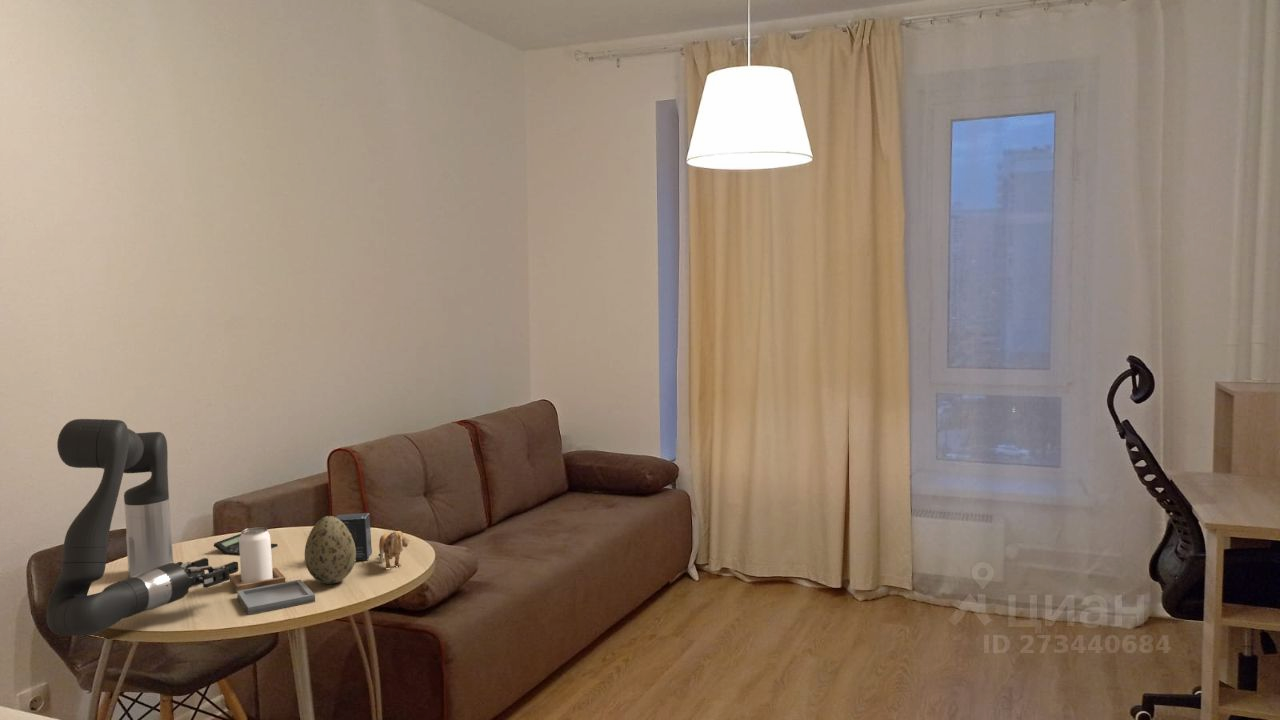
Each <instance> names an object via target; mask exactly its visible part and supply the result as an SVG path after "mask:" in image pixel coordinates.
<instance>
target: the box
mask: <svg viewBox="0 0 1280 720" xmlns="http://www.w3.org/2000/svg"><path fill="white" fill-rule="evenodd" d="M335 517H336V518H338V519H339V520H340V521H342V522H343V523H344V524H345V526H346V527H347V528H348V530H349V531H350V533H351V535H352V538H353V540H354V543H355V548H356V559H355V560H364V561H368V560H369V559H370V558H369V556H370V555H371V554H372V553H373V552H372V551H373V549H372V548H373V547H372V534H371V532H372V531H371V518H370V513H369V512H365V513H348V514H337V515H336V516H335ZM371 556H372V555H371ZM371 556H370V557H371ZM368 558H369V559H368ZM367 559H368V560H367Z"/></svg>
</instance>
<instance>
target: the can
mask: <svg viewBox="0 0 1280 720" xmlns="http://www.w3.org/2000/svg"><path fill="white" fill-rule="evenodd" d="M268 530H269V529H268V528H267V527H262V526H261V527H252V528H251V527H250V528H245V529H243V530H241V531H240V534H241V536H240V538H239V548H240V555H239V563H240V564H239V565H240V573H241V580H242V581H241V584H246V583H252V582H257V581H263V580H268V579H274V576H273V574H272V568H273V559H272V558H273V557H272V548H271V544H272V543H271V535H270V533H269V531H268Z"/></svg>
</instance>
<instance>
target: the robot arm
mask: <svg viewBox="0 0 1280 720" xmlns="http://www.w3.org/2000/svg"><path fill="white" fill-rule="evenodd" d="M57 452H58V455H59V458H60V459H61V461H62V462H63V463H64V464H65V465H66V466H68V467H71V468H77V469H78V468H79V469H82V468H83V469H84V468H85V469H103V474H102V476H101V480H100V483H99V485H98V487H97V489H96V490H95V493H94V494H93V495H92V496H91V498H90V500H89V501H88V502H87V503H86V504H85V506H84V507H83V508H82V509H81V511H80V512H79V513H78V514H77V516H76V517H75V518H74V520H72V522H71V524H70V525H69V527H68V529H67V531H66V534H65V537H64V542H63V547H62V548H63V549H62V557H61V566H60V567H61V568H60V572H59V575H58V578H57V580H56V582H55V585H54V587H53V589H52V592H51V595H50V598H49V600H48V602H47V603H48V604H47V606H46V614H45V615H46V616H45V617H46V624H47V626H48V628H49V630H50V631H51V632H52V633H53V634H55V635H58V636H61V637H62V636H65V637H66V636H67V637H69V636H71V637H72V636H73V637H74V636H77V637H78V636H79V637H80V636H81V637H82V636H91V635H94V634H98V633H100V632H103V631H105V630H107V629H109V628H111V627H112V626H114V625H115V624H117V623H119V622H120V621H122V620H124V619H127V618H130V617H133V616H135V615H138V614H141V613H143V612H147V611H152V610H155V609H157V608H160V607H164V606H165V605H169V604H170V603H171V604H172V603H173V602H175V601H178V600H179V601H180V599H183V598H184V597H185V596H186V595H187V594H188V591H189V589H191V588H197V587H198V586H201V585H202V586H203V587H202V588H210V587H213V586H215V585H218V584H221V583H224V582H227V581H230V579H229V575H234V574H236V573H237V572H238V571H239V563H238V561H231V562H229V563H226V564H223V565H219V566H212V565H210V564H209V558H207V557H204V558H203V557H202V558H200V559H198V560H194V561H187V562H186V561H185V562H182V561H178V562H176V563H175V562H174V552H173V539H172V521H171V520H172V519H171V509H170V508H171V507H170V492H169V477H168V476H169V474H168V472H169V471H168V457H169V456H168V442H167V438H166V436H165V434H164V433H163V432H160V431H148V432H135V431H133V430H132V429H130V428H128V425H127V424H126V422H124V421H123V420H121V419H102V418H101V419H100V418H78V419H73V420H70V421H68V422H67V423H65V425H64V426H63V427H62V429H60V431H59V434H58V437H57ZM139 473H140V474H141V473H142V474H143V473H151V475H150V477H149V478H148V479H147V480H146V481H145V482H143V483H141V484H138V485H135V486H132V487H131V488H129V489H127V490H126V491H125V492H124V493H123V502H124V516H125V528H126V529H125V530H126V531H125V532H126V534H125V540H126V553H127V554H126V555H127V556H126V557H127V568H128V575H129V578H125V579H122V580H119V581H116V582H114V583H111V584H110V585H107V586H106V587H105V588H104V589H103V590H102V591H100V592H97V593H93V594H89V590H90V587H91V585H92V584H93V583H95V582H97V581H99V580H101V579H102V578H103V577H104V574H105V571H106V565H107V564H106V562H107V555H108V547H109V546H108V545H109V537H110V530H111V526H112V525H111V524H112V522H113V516H114V513H115V512H114V511H115V508H116V504H117V501H118V497H119V493H120V489H121V485H122V480H123V477H124V474H139ZM205 571H207V572H205Z"/></svg>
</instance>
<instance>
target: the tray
mask: <svg viewBox="0 0 1280 720" xmlns="http://www.w3.org/2000/svg"><path fill="white" fill-rule="evenodd" d="M236 594H237V596H236V597H237V600H238V601H239V602H240V603H241V606H242V607H243V609H244V610H245V611H246V613H247V615H248V616H250V615H255V614H259V613H265V612H270V611H275V610H279V609H280V610H281V609H286V608H290V607H296V606H299V605H300V606H301V605H305V604H310V603H311V604H312V603H315V602H316V594H315V593H314V592H313V591H312V590H311V589H310V588H309V587H308V585H306V584H305V583H304V581H302V579H296V580H289V581H285V582H284V583H278V584H273V585H267V586H262V587H256V588H251V589H246V590H240V591H237V592H236Z"/></svg>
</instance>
